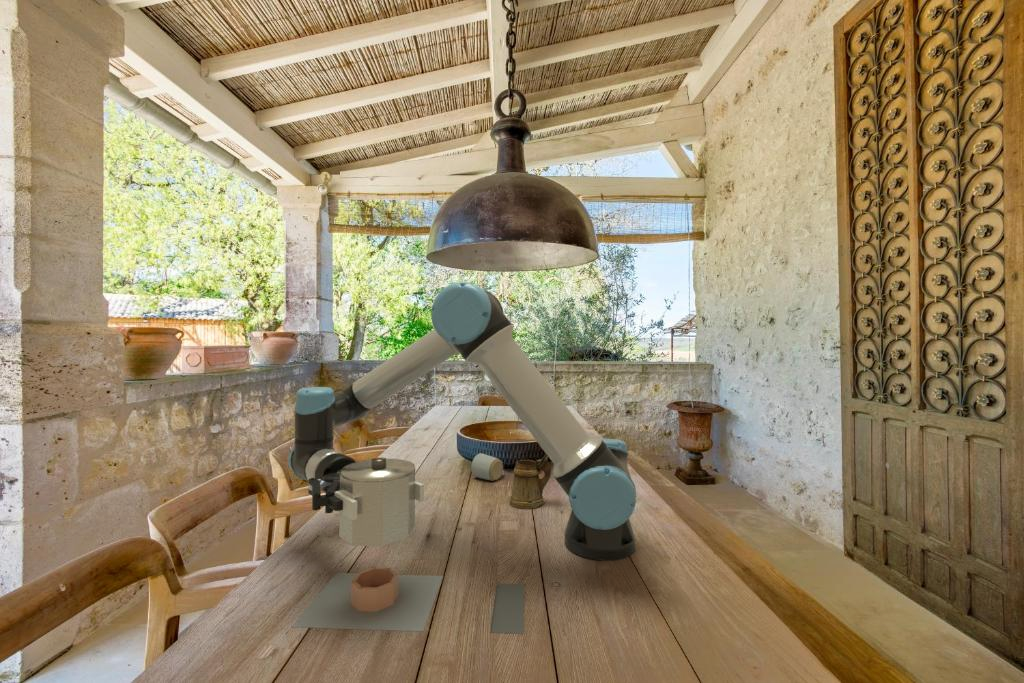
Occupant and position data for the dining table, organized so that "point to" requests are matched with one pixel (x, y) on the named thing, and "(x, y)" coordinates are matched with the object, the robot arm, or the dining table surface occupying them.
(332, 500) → the robot arm
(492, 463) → the ceramic mug
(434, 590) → the serving board
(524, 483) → the wooden mug
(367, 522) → the stockpot with side handles
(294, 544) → the dining table surface
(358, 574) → the bowl
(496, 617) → the rubber mat
